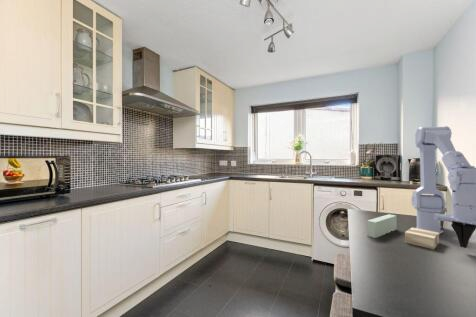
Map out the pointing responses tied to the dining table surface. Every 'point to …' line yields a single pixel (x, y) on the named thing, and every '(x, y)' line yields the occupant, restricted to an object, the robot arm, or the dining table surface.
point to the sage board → (381, 225)
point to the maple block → (422, 238)
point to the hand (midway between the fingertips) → (463, 246)
